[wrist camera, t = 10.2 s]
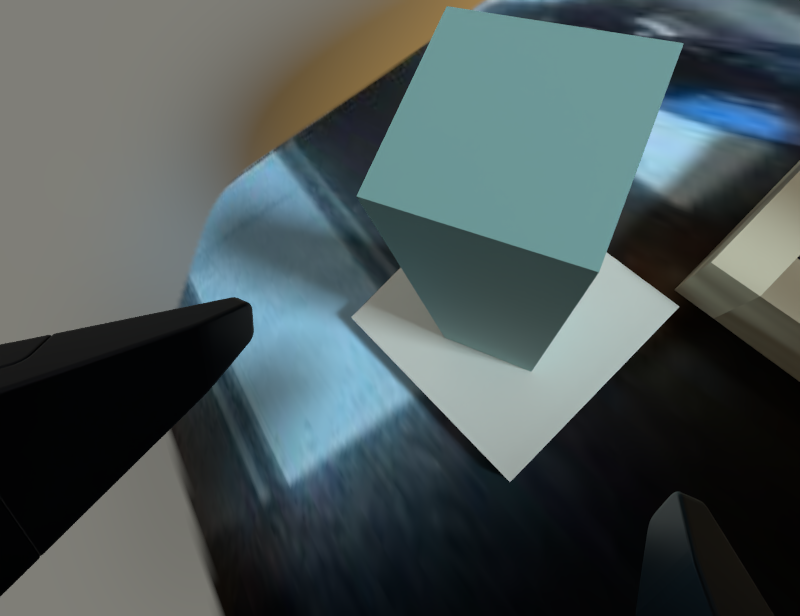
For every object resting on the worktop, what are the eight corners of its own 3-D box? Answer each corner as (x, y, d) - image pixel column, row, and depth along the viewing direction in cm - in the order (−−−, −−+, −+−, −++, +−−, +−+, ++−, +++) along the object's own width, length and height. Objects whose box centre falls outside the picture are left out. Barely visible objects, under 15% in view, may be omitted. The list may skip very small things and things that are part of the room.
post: (531, 371, 19) (599, 272, 6) (444, 337, 20) (356, 196, 7) (563, 286, 19) (683, 43, 7) (477, 258, 20) (447, 6, 8)
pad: (509, 478, 19) (509, 482, 18) (358, 322, 22) (351, 317, 21) (668, 313, 19) (679, 306, 18) (496, 183, 22) (496, 170, 21)
